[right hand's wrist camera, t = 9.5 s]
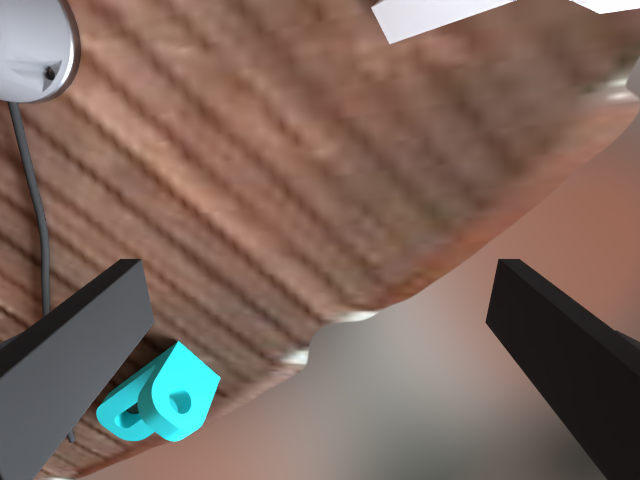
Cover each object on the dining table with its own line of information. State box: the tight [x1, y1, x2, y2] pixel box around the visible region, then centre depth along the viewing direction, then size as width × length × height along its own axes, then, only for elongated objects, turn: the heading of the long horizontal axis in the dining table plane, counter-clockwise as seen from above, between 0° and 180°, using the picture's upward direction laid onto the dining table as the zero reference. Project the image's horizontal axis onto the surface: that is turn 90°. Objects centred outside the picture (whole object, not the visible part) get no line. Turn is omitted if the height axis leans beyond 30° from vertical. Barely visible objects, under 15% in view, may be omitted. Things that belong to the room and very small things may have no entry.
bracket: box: [96, 341, 220, 441], centre depth 52 cm, size 20×9×12 cm, turn 128°
